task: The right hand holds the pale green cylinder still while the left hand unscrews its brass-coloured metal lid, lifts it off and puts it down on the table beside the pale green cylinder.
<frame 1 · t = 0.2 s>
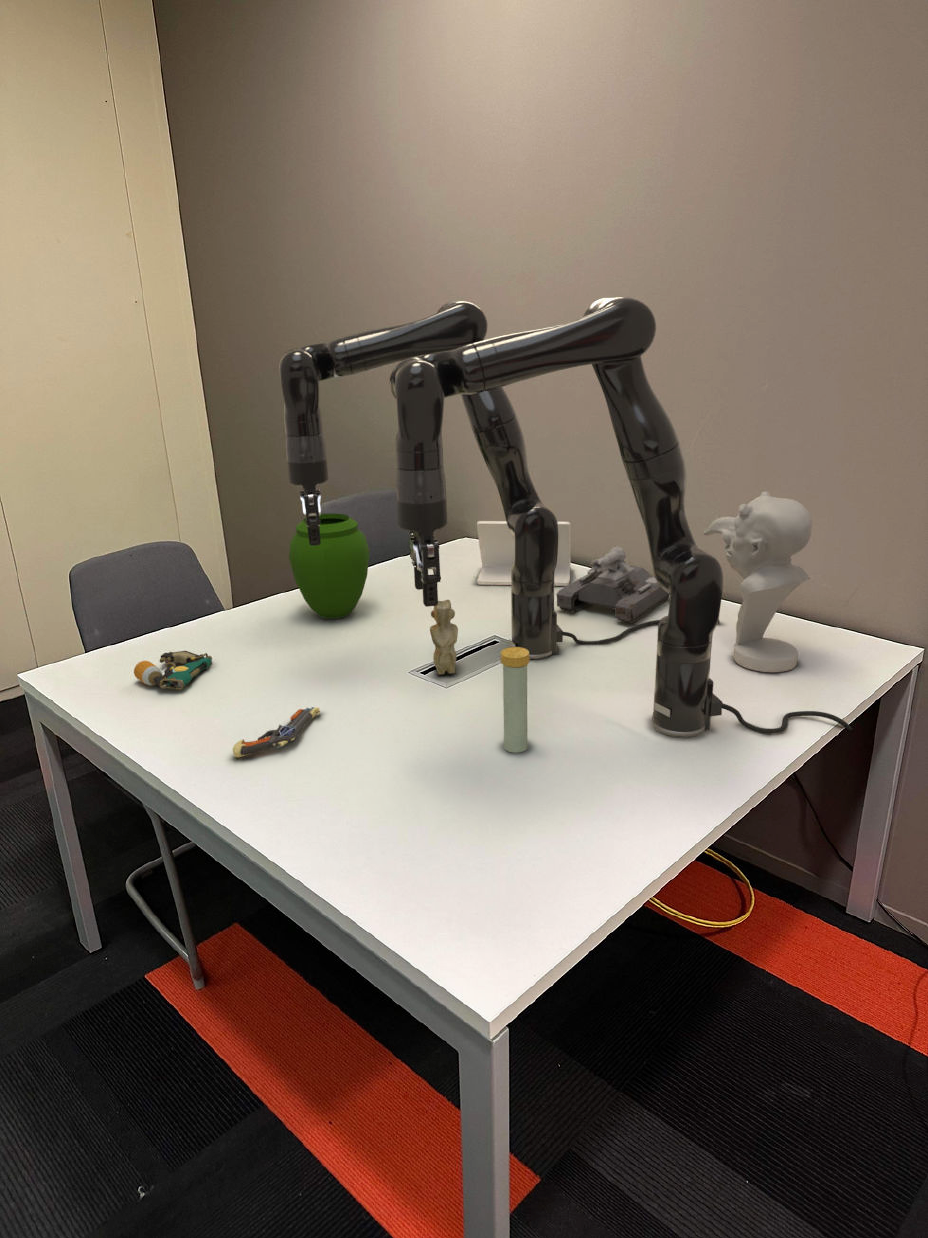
left hand: (314, 539, 170), 29 cm above the table, tool pointing down, fingers open, 8 cm apart
right hand: (426, 596, 135), 29 cm above the table, tool pointing down, fingers open, 8 cm apart
sculpture: (445, 671, 180), on the table
spray gun: (177, 676, 181), on the table
pale green cylinder: (515, 747, 148), on the table
tablet stand: (525, 575, 239), on the table
vase: (334, 614, 214), on the table
lid: (515, 654, 142), point 18 cm above the table, screwed on, not yet turned
toy: (615, 605, 214), on the table
toy gun: (278, 736, 154), on the table
bust sculpture: (746, 657, 182), on the table
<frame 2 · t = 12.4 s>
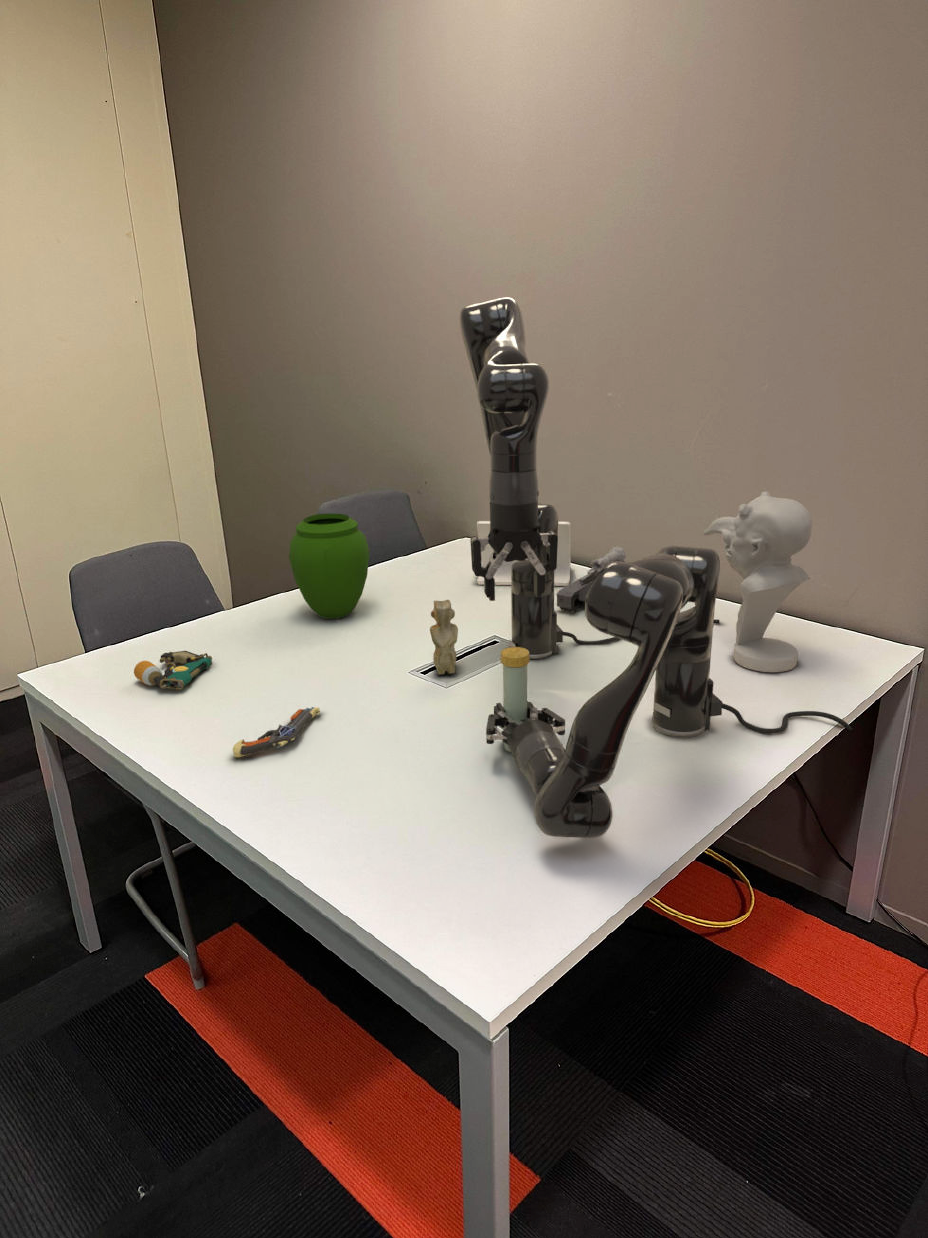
left hand: (514, 597, 139), 28 cm above the table, tool pointing down, fingers open, 7 cm apart
right hand: (511, 706, 149), 7 cm above the table, tool horizontal, fingers closed on pale green cylinder, 4 cm apart
pale green cylinder: (515, 747, 148), on the table, touching right hand
everything else where it was.
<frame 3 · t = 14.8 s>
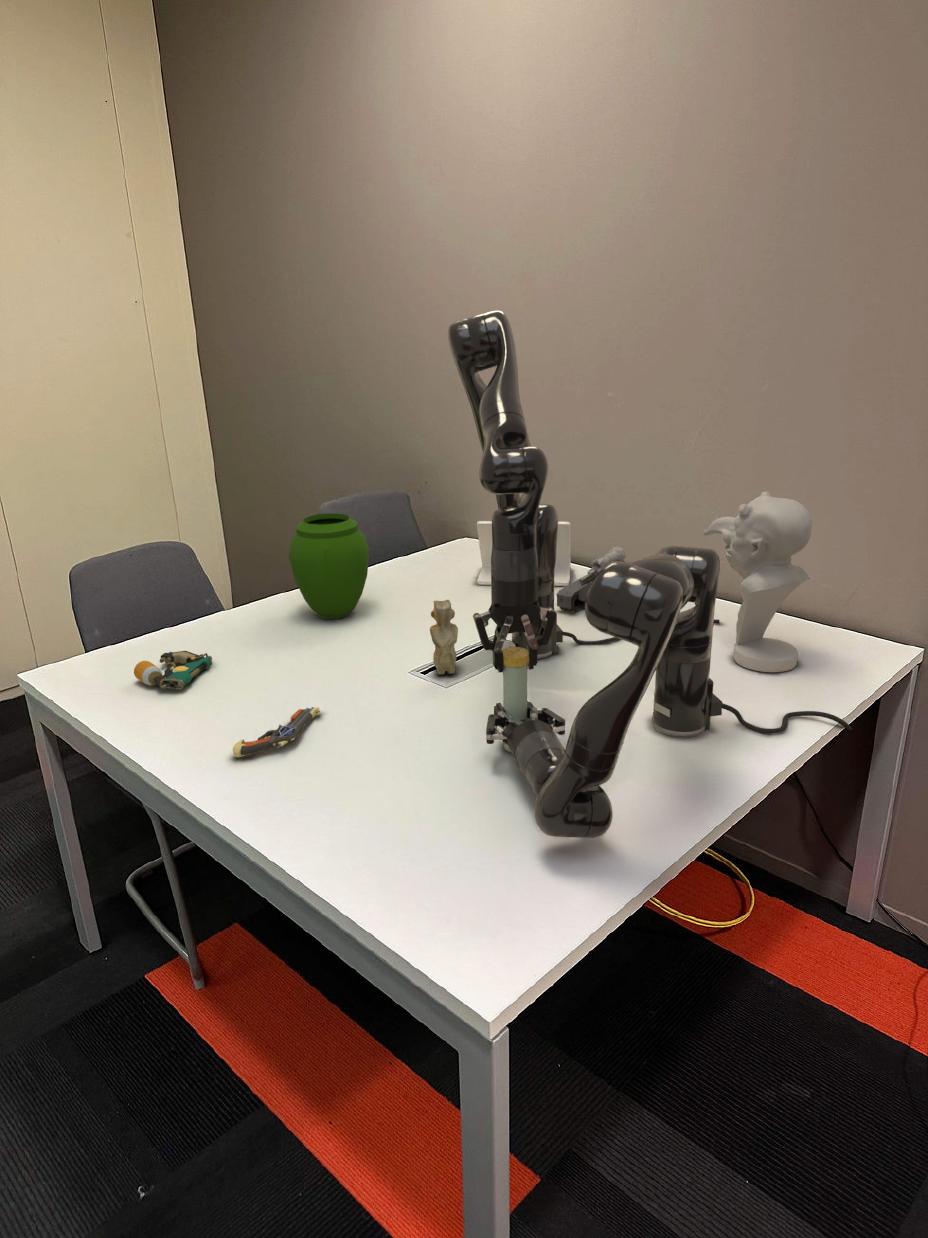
left hand: (514, 668, 143), 15 cm above the table, tool pointing down, fingers closed on lid, 4 cm apart
right hand: (511, 706, 149), 7 cm above the table, tool horizontal, fingers closed on pale green cylinder, 4 cm apart
pale green cylinder: (515, 747, 148), on the table, touching right hand
lid: (515, 654, 142), point 18 cm above the table, screwed on, not yet turned, touching left hand
everything else where it was.
when the left hand's fingers open (0 cm above the table, at t = 25.0 s): lid drops 2 cm, point 1 cm above the table.
when the right hand's fingers open (7 cm above the table, at t = 26.1 s): pale green cylinder stays where it is, on the table.
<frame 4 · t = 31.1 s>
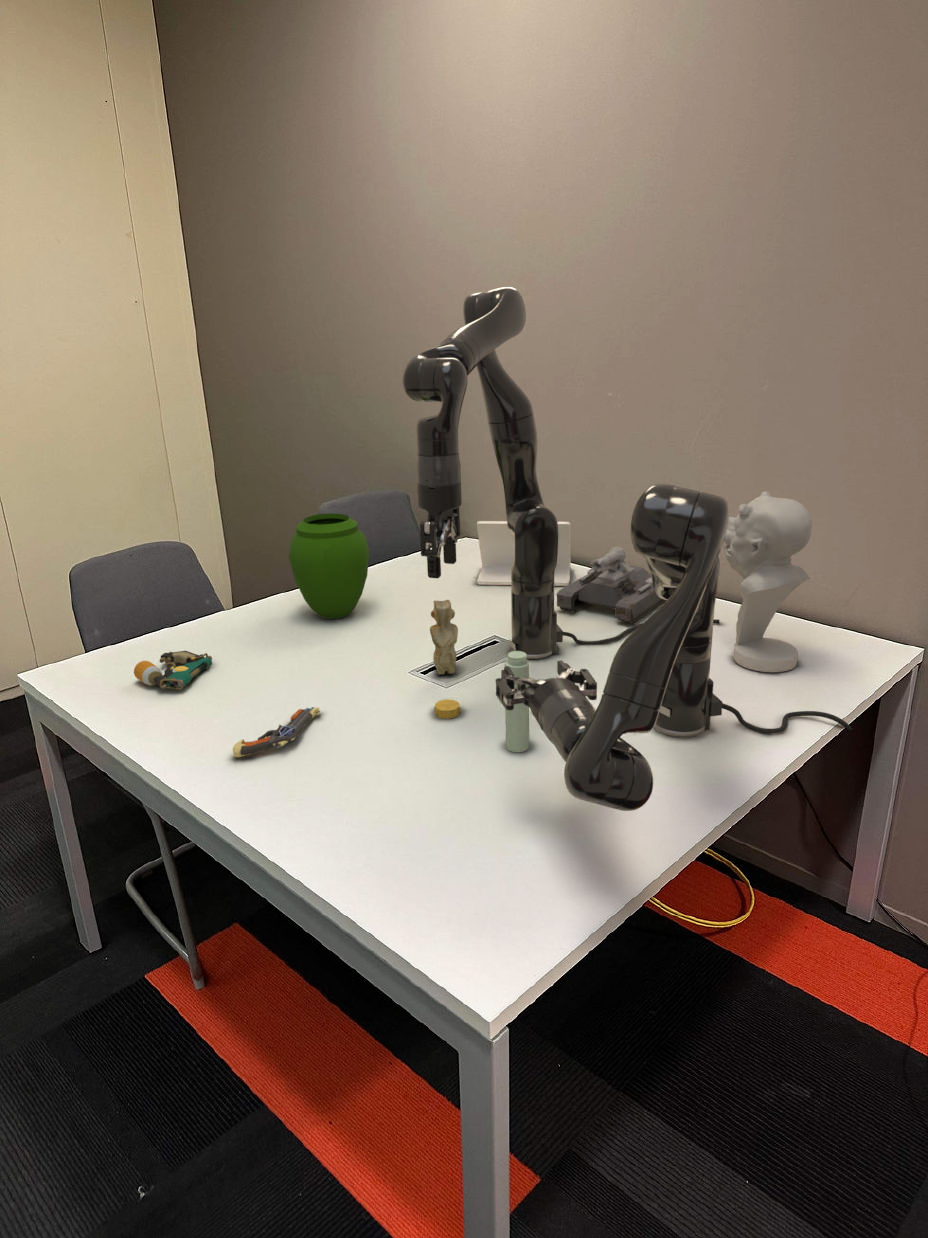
left hand: (442, 570, 151), 28 cm above the table, tool pointing down, fingers open, 8 cm apart
right hand: (532, 669, 132), 19 cm above the table, tool horizontal, fingers open, 8 cm apart
pale green cylinder: (517, 746, 149), on the table
lid: (447, 706, 161), point 1 cm above the table, off its thread
everything else where it was.
at the end: lid came off its thread; lid point 1.3 cm above the table; the left hand is holding nothing; the right hand is holding nothing; pale green cylinder tilted 0°; pale green cylinder moved 0.3 cm from its start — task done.
